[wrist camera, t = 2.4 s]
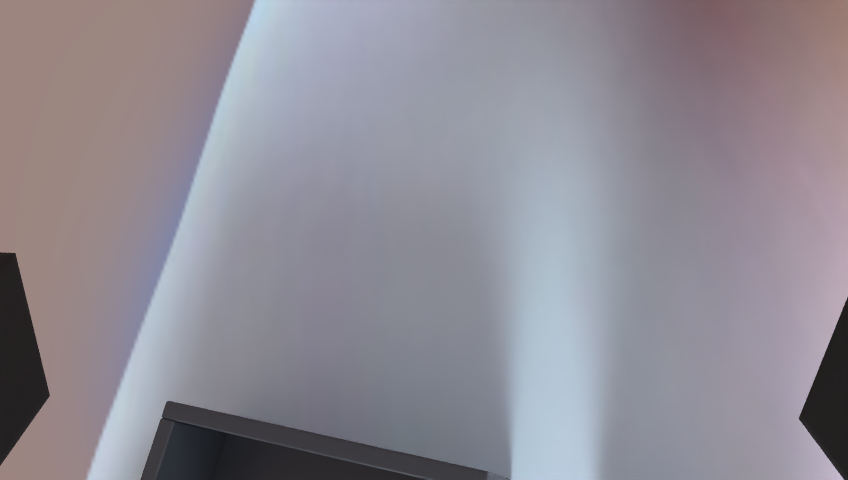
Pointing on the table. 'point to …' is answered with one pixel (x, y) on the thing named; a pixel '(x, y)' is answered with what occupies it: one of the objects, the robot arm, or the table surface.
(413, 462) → the box
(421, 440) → the table surface
